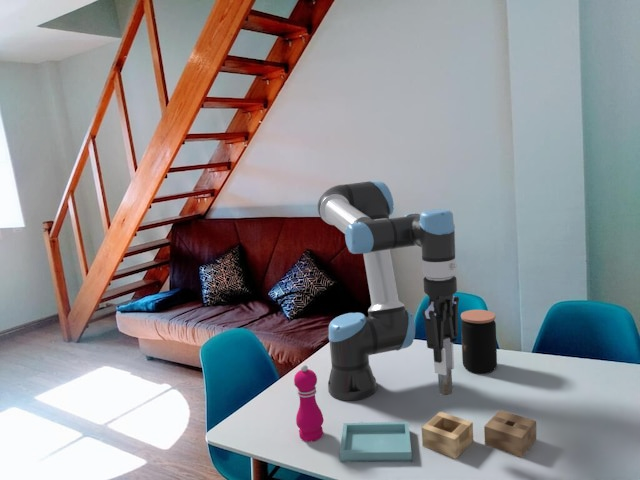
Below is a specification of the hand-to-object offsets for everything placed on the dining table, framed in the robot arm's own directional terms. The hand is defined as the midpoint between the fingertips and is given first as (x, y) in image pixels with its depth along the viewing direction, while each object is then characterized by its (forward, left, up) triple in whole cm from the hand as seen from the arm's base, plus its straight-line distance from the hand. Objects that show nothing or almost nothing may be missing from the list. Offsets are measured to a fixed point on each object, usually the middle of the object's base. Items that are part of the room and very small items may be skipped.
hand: (444, 370), depth 119 cm
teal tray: (-14, -11, -19) cm, 26 cm away
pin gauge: (0, 0, -6) cm, 6 cm away
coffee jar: (-12, +43, -20) cm, 49 cm away
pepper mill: (-31, -17, -20) cm, 41 cm away
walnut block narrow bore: (+12, +9, -19) cm, 25 cm away
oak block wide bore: (0, 0, -19) cm, 19 cm away
